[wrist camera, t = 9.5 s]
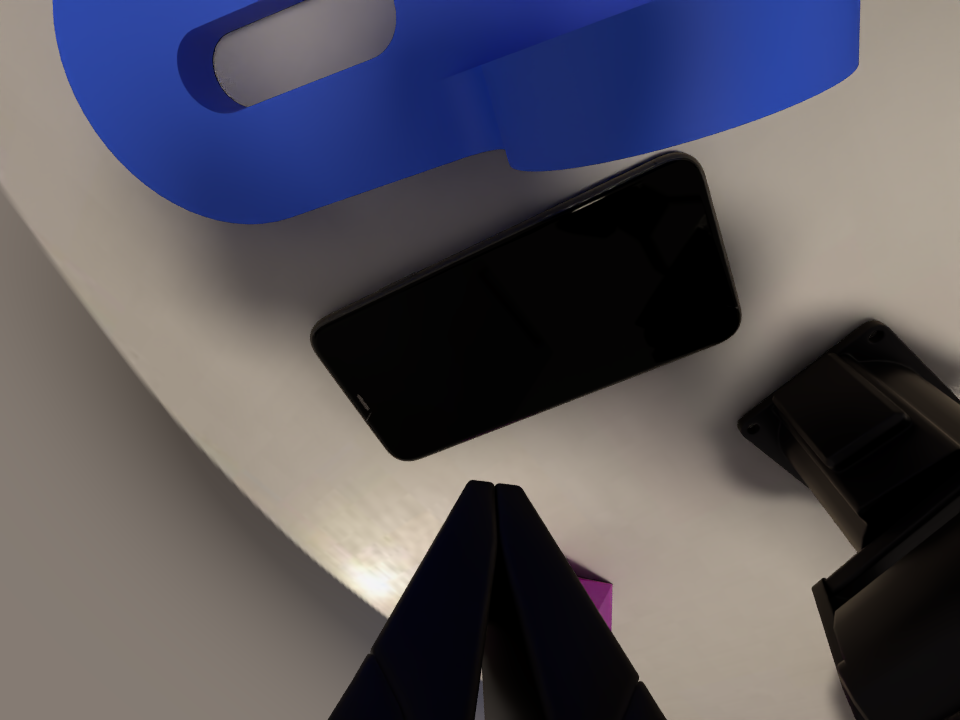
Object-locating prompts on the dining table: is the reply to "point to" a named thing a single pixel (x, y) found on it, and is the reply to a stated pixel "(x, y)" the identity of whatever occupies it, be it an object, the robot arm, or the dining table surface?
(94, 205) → the dining table surface
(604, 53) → the bracket
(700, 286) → the smartphone
